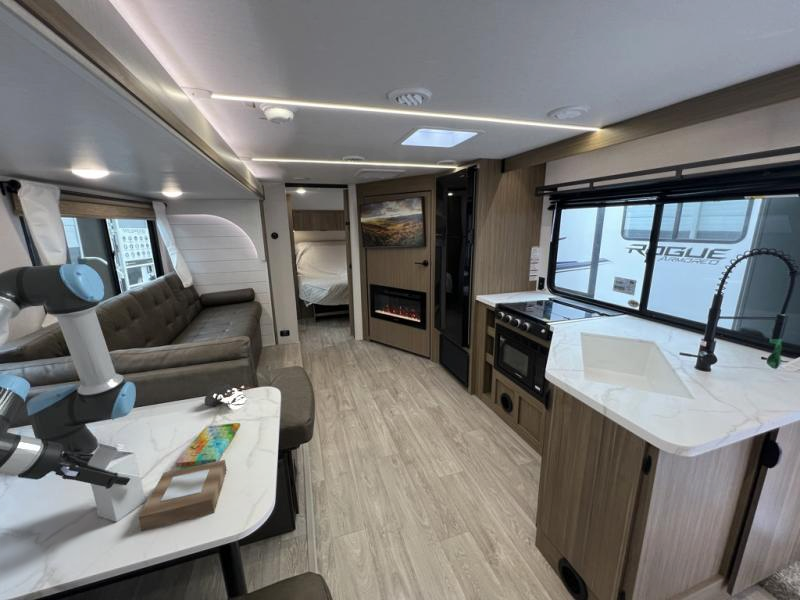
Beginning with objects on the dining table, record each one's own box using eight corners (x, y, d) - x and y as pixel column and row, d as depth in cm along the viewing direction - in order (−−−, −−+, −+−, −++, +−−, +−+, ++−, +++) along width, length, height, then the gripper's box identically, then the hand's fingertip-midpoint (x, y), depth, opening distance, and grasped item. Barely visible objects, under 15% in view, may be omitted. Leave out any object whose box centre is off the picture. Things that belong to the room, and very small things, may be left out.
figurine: (230, 381, 148) (254, 381, 139) (234, 401, 149) (258, 403, 139) (198, 392, 136) (223, 393, 127) (203, 414, 137) (227, 417, 127)
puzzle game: (174, 460, 98) (206, 423, 118) (177, 474, 99) (208, 435, 119) (215, 456, 99) (239, 420, 119) (217, 469, 100) (241, 432, 120)
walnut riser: (166, 484, 94) (163, 471, 94) (226, 471, 99) (224, 458, 98) (141, 530, 79) (137, 516, 78) (214, 512, 84) (211, 498, 83)
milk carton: (116, 522, 82) (100, 456, 78) (98, 516, 84) (82, 451, 81) (146, 501, 89) (132, 438, 85) (128, 495, 91) (114, 434, 87)
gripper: (3, 459, 76) (104, 475, 92) (27, 496, 64) (138, 507, 80) (31, 426, 79) (123, 447, 95) (59, 456, 67) (159, 474, 83)
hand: (130, 475), depth 87 cm, fingers open, 10 cm apart
